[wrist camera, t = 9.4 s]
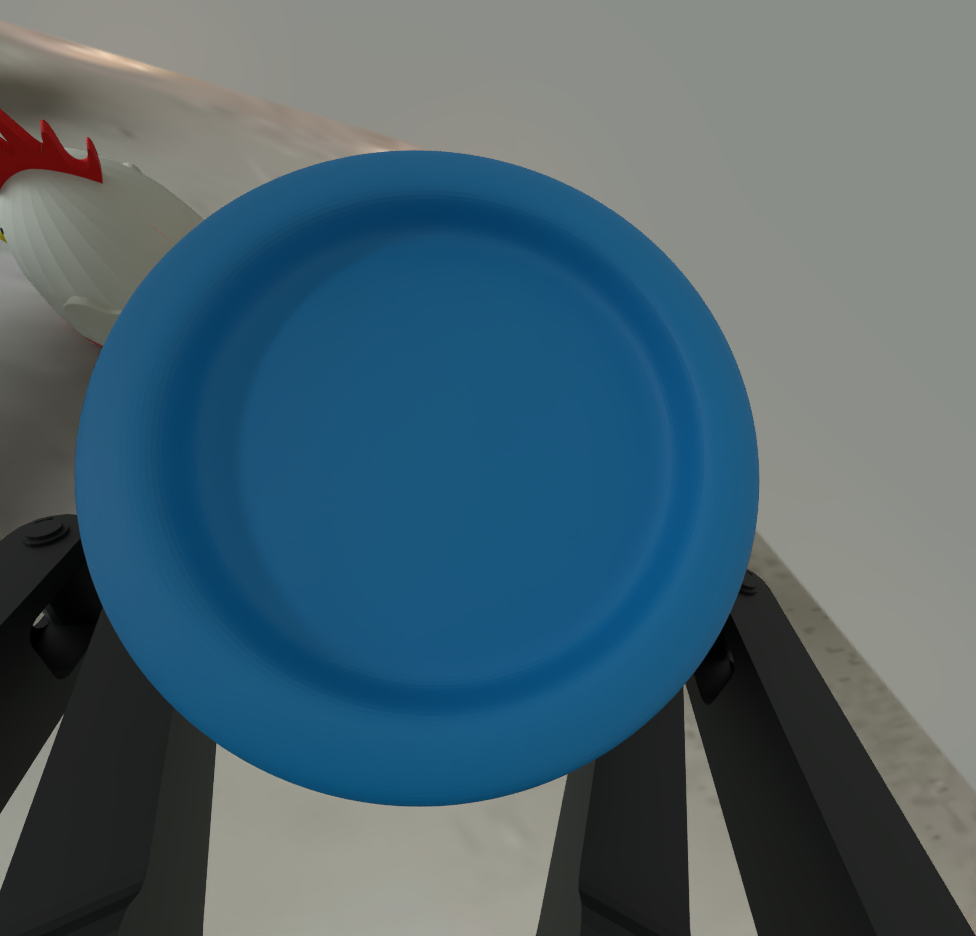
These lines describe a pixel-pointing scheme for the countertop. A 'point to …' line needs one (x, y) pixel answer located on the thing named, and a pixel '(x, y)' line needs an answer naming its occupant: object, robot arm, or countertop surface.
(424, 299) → the beverage bottle
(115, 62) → the countertop surface
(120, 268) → the kitchen timer
